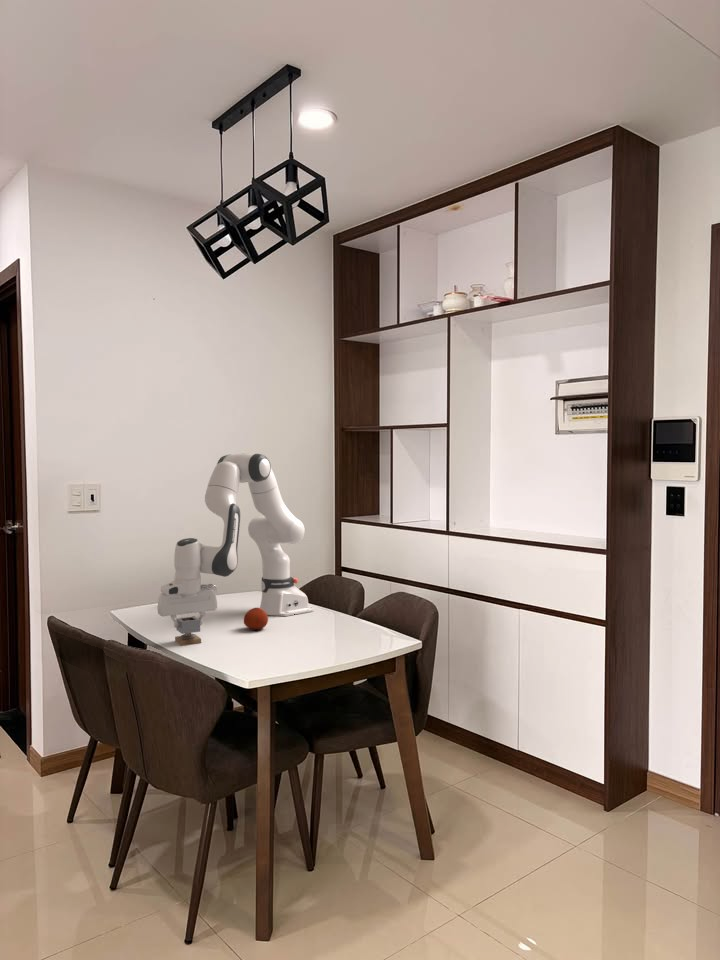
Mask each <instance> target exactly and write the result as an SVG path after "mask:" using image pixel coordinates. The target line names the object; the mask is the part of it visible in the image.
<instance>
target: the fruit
mask: <svg viewBox="0 0 720 960" xmlns="http://www.w3.org/2000/svg"><path fill="white" fill-rule="evenodd" d="M268 621H269V615H267V614H266V612H265V611H263V610H262V609H260V607H253V608H250V609H249V610H247V612H245V614H244V616H243V624H244V625H245V627H246V628H248V629H250V630H262V629H264V628H265V627H266V626H267V625H268Z"/></svg>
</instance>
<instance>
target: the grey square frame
mask: <svg viewBox="0 0 720 960" xmlns="http://www.w3.org/2000/svg"><path fill="white" fill-rule="evenodd" d="M175 619H176V621H177V622H180V627H179V628H175V629H176V631H177V632H178V633H180V634H181V635H183V634H186V633H191V634H194V633H199V632H201V625H200V620H199V617H196V616H185V617H177V618H175ZM185 620H190V621H185Z"/></svg>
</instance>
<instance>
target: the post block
mask: <svg viewBox="0 0 720 960" xmlns="http://www.w3.org/2000/svg"><path fill="white" fill-rule="evenodd" d="M185 621H190V620H185ZM174 641H175V643H177V644H178V645H179V646H181V647H182V646H190V645H195V644H196V645H197V644H201V643H202V638H201V637H200V636H198V635H196V634H195V633H186V634H181V635H178V636H175V637H174Z"/></svg>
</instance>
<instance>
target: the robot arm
mask: <svg viewBox="0 0 720 960" xmlns="http://www.w3.org/2000/svg"><path fill="white" fill-rule="evenodd" d="M271 465H272V464H271V462H270V459H269V458H268V457H267V456H266V455H264V454H262V453H261V454H260V453H249V452H247V453H236V454H225V455H222V456H221V457H220V458H219V459H218V460H217V463H216V465H215V467H214V469H213V471H212V473H211V476H210V478H209V480H208V482H207V483H208V484H207V487H206V490H205V495H204V503H205V505H206V508H207V509H208V510H209V511H210V512H212V513H213V514H215V515H216V516H218V517H220V518H221V519H222V520H223V535H222V542H221V545H220V546H212V545H211V546H210V545H205V544H203V543H201V542H200V541H199V539H197V538H193V537H189V538H183V539H180V540H178V541H177V543H176V544H175V546H174V547H175V548H174V554H173V556H174V557H173V559H174V560H173V561H174V563H173V566H174V570H175V573H174V578H173V579H174V580H173V581H171V582H168V583H166V584H163V585H161V587H160V594H159V597H158V601H157V613H158V615H159V616H161V617H170V619H172V621H173V627H174V629H176V628H179V627H180V622H177V621H176V618H178V617H177V616H181V615H187V614H197V613H199V614H200V615H199V617H198V619H199V620H200V626H201V625H202V624H203V619H204V617H205V615H206V612H213V611H216V610H217V608H218V600H217V595H218V594H217V593H218V588H217V586H216V585H215V584H212V583H208V584H202V583H201V582H202V578H201V577H202V576H201V574H202V573H203V574H209V575H215V576H220V577H225V578H226V577H229V576H230V575H232V573H234V571H235V570H236V569H237V568H238V567H237V566H238V560H239V557H238V547H239V546H238V544H239V537H240V535H239V534H240V528H241V527H240V524H241V509H240V507H239V506H238V505H237V496H238V492H239V487H240V484H241V483H242V484H243V483H244V484H245V483H247V484H248V488H249V492H250V494H251V498H252V502H253V506H254V508H255V509H256V511H257V512H258V513H260V514H261V515H260V516H255V517H253V518H251V520H250V521H249V523H248V527H247V531H248V535H249V537H250V538H251V539H252V540H253V541H254V542H255V544H256V546H257V547H258V550H259V552H260V555H261V560H262V561H261V563H262V564H261V566H262V577H261V582H260V583H261V584H260V585H261V592H262V593H261V600H260V605H259V608H260V609H262V610H263V611H265V612H266V614H267V616H280V617H288V616H293V615H294V614H295V615H299V614H305V612H306V613H310V612H314V610H315V608H314V606H312V605H311V604H309V599H308V596H307V595H306V593H305V592H303V591H302V590H300V589H299V588H298V587H297V586H296V584H298V583H299V579H298V578H296V577H291V559H290V557H289V555H288V554H287V553H285V551H284V550H283V548H282V547H281V545H289V546H290V545H295V544H298V543H299V544H300V543H301V541H303V538H305V533H306V529H305V525H304V523H303V522H302V521H301V519H298V518H297V517H296V515H294V514H293V513H292V512H291V510H289V508H288V507H287V506H286V504H285V501H284V500H283V497H282V495H281V492H280V488H279V486H278V485H279V484H278V482H277V478H276V476H275V473H274V471H273V468H272V466H271Z"/></svg>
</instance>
